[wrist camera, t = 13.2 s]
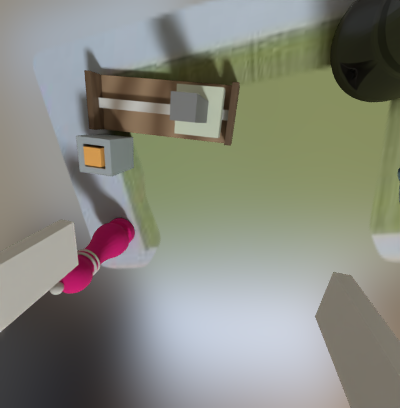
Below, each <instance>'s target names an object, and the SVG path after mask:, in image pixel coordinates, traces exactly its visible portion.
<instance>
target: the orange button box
mask: <svg viewBox="0 0 400 408" xmlns="http://www.w3.org/2000/svg"><path fill="white" fill-rule="evenodd" d="M76 141H77V150H78V159H79V168H80V172H85V173H91V174H98V175H105V176H114V175H117V174H119V173H122V172H124V171H127V170H129V169H132V168H134V163H133V137H127V136H118V135H110V134H96V135H81V136H76ZM91 145H98V146H104V154H105V166H104V167H97V166H90V165H85V160H84V150H83V147H84V146H91Z"/></svg>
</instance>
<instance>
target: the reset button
mask: <svg viewBox="0 0 400 408" xmlns="http://www.w3.org/2000/svg"><path fill="white" fill-rule="evenodd" d="M83 150H84V160H85V165H90V166H97V167H104V166H105V154H104V146H98V145H91V146H84V147H83Z"/></svg>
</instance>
